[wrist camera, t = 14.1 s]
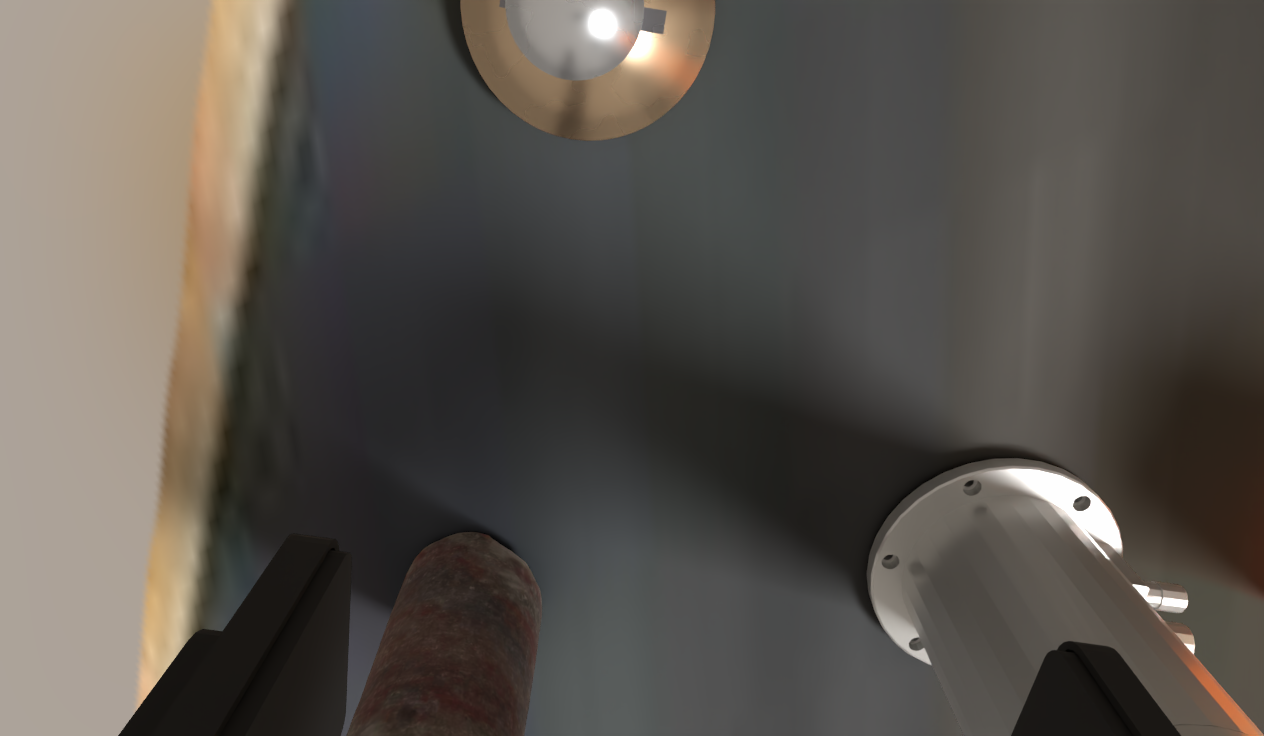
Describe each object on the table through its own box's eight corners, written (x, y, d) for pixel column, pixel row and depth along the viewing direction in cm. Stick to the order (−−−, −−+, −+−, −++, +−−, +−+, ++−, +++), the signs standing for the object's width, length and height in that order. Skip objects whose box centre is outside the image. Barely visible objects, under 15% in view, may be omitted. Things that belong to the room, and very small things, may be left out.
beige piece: (735, -108, 33) (763, -146, 25) (688, 154, 36) (701, 188, 29) (476, -154, 32) (426, -206, 25) (456, 117, 36) (407, 142, 28)
